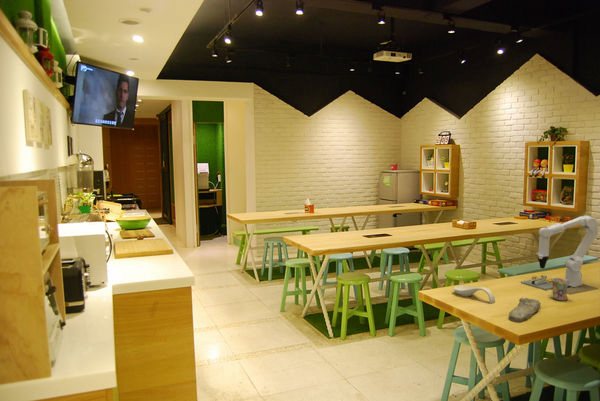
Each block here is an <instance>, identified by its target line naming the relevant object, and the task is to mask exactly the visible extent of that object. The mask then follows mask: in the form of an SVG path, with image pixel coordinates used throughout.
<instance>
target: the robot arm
mask: <svg viewBox="0 0 600 401" xmlns="http://www.w3.org/2000/svg"><path fill="white" fill-rule="evenodd" d="M575 226H582V227H584V228H585V230H586V233H585V235H584V236H583V238H582V240H581V242H580V243H579V245H578V247H577V248H576V250H575V251H574V254H571V255H570V256H569V258H567V259H566V260H565V263H564V265H565V267H566V269H565V278H564V279H565V280H568V281H570V283H569V285H568V287H571V288H572V287H573V288H577V287H580V286H583V283H582V282H583V273H582V272H581V270H582V264H583V262H584V260H583V259H584V258H585V256H586V254H587V253H588V251H589V249H590V248H591V246H592V244H593V242H594V241H595V239H596V238H597V236H598V233H599V222H598V220H597V218H595V217H592V216H589V215H586V214H585V215H581V216H578V217H576V218H573V219H570V220H568V221H566V222H563V223H560V222H555V223H553V224H551V225H547V226H545V227H541V228H539V230H538V235H539V240H538V251H537V252H535V254H536V255H537V260H538V263H539V268H540V269H545V267H546V264H547V261H548V260H549V258H550V254H549V253H550V241H551V240H550V238H551V237H552V236H554V235H557V234H560V233H563V232H564V230H565V229H570V228H573V227H575Z"/></svg>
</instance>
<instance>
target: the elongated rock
mask: <svg viewBox="0 0 600 401" xmlns="http://www.w3.org/2000/svg"><path fill="white" fill-rule="evenodd" d="M518 300H519V301H518V304H517V306H515V307H514V308H513V309H512V310H511V311H510V312H509V314H508V319H509V320H510V321H511V322H515V323H522V322H523V321H526V320H527V319H530V318H531V317H532V316H534V315H535V313H537V312H538V311H539V309H540V307H541V301H539V300H538V299H535V298H528V297H525V298H524V297H521V298H519V299H518Z"/></svg>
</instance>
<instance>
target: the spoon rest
mask: <svg viewBox="0 0 600 401" xmlns="http://www.w3.org/2000/svg"><path fill="white" fill-rule="evenodd" d="M453 291H454V292H455V293H456V294H458V295H460V296H462V297H471V296H472V295H474V294H475V293H476V292H478V291H483V292H485V293H486V294H487V296H488V300H489V304H493V303H496V298H495V295H494V294H493V292H492V291H491V290H490V289H489V288H487V287H484V286H469V285H468V286H467V285H457V286H455V287H453Z"/></svg>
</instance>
